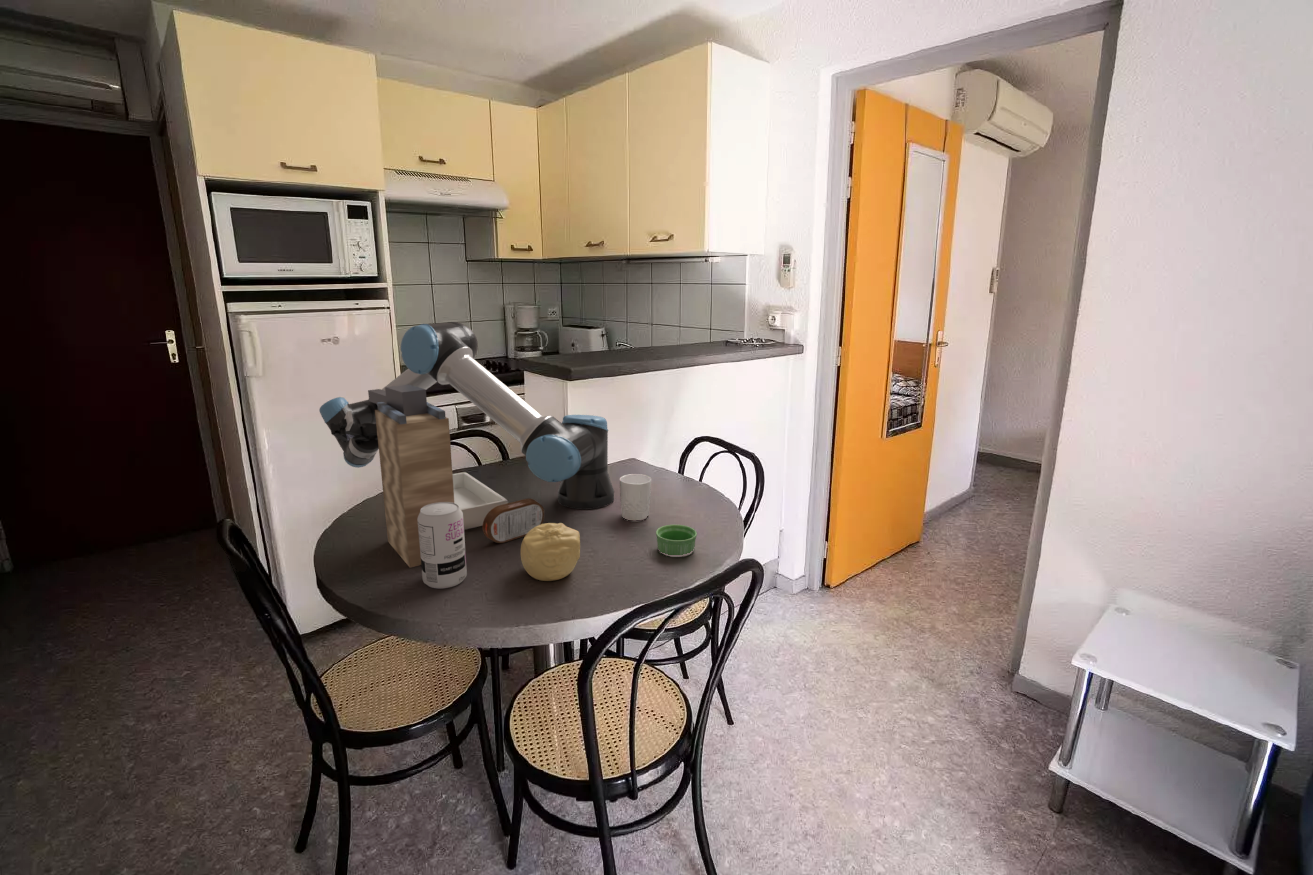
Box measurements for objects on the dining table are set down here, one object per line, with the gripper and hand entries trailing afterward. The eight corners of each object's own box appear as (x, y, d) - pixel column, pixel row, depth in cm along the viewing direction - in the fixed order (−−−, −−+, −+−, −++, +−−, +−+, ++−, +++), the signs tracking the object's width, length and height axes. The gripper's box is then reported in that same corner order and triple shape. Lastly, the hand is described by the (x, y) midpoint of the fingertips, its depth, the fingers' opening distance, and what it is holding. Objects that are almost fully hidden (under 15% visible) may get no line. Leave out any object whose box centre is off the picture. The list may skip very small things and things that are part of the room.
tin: (539, 526, 147) (538, 493, 145) (547, 530, 145) (546, 497, 143) (482, 544, 137) (480, 509, 135) (489, 549, 135) (488, 513, 133)
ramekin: (649, 545, 138) (649, 527, 137) (685, 539, 142) (685, 522, 140) (665, 562, 130) (666, 543, 129) (703, 555, 134) (704, 537, 133)
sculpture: (528, 592, 117) (526, 539, 114) (516, 565, 127) (514, 517, 125) (586, 581, 121) (586, 530, 118) (570, 556, 132) (569, 509, 129)
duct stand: (388, 541, 138) (374, 402, 130) (433, 531, 144) (422, 398, 136) (410, 567, 125) (396, 416, 118) (458, 555, 131) (448, 410, 124)
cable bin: (416, 498, 164) (415, 480, 163) (466, 488, 172) (465, 471, 171) (454, 532, 143) (452, 512, 142) (508, 519, 151) (507, 500, 150)
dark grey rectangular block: (363, 401, 139) (361, 379, 137) (385, 399, 142) (383, 377, 141) (404, 416, 125) (402, 392, 124) (427, 413, 128) (425, 389, 127)
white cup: (652, 511, 158) (653, 474, 155) (649, 523, 150) (649, 484, 148) (622, 510, 159) (622, 473, 156) (617, 521, 151) (617, 483, 149)
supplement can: (429, 571, 124) (423, 501, 121) (471, 570, 125) (466, 500, 121) (417, 590, 116) (411, 516, 113) (462, 589, 117) (457, 515, 113)
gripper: (418, 446, 170) (437, 421, 153) (316, 461, 155) (326, 435, 138) (411, 421, 171) (430, 393, 154) (310, 433, 156) (319, 404, 139)
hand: (381, 413), depth 146 cm, fingers open, 13 cm apart
